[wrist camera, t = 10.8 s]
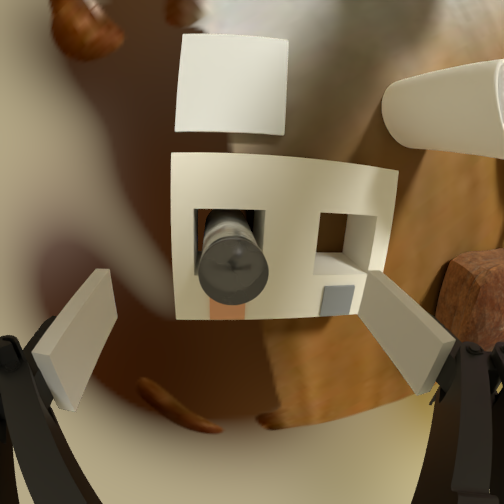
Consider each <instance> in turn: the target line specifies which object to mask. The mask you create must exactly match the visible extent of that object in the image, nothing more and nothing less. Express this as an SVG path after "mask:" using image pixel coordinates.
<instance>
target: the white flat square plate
mask: <svg viewBox="0 0 504 504" xmlns="http://www.w3.org/2000/svg"><path fill="white" fill-rule="evenodd" d="M288 45H289V40H284V39H276V38H268V37H258V36H247V35H231V34H183V39H182V47H181V57H180V67H179V77H178V88H177V102H176V103H177V104H176V118H175V119H176V120H175V132H228V133H250V134H266V135H279V136H283V135H284V132H285V114H286V94H287V71H288Z"/></svg>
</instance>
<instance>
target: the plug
mask: <svg viewBox="0 0 504 504" xmlns="http://www.w3.org/2000/svg"><path fill="white" fill-rule="evenodd" d="M198 276H199V282H200V285H201V287H202V289H203V291H204V292H205V293H206V294H207V295H208V296H209V297H210V298H211V299H213V300H214V301H216V302H218V303H221V304H225V305H240V304H244V303H247V302H249V301H251V300H253V299H254V298H256V297H257V296H258V295H259V294H260V293H261V292H262V291H263V289H264V288H265V286H266V284H267V281H268V276H269V268H268V264H267V261H266V259H265V256H264V254H263V252H262V251H261V249H260V248H259V247H258V245H257V243H256V241H255V239H254V236H253V234H252V232H251V230H250V228H249V225H248V223H247V221H246V219H245V217H244V215H243V213H242V212H241V211H240V210H239V209H213V210H212V211H211V212H210V213H209V215H208V216H207V219H206V223H205V232H204V241H203V249H202V256H201V259H200V263H199V271H198Z"/></svg>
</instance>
